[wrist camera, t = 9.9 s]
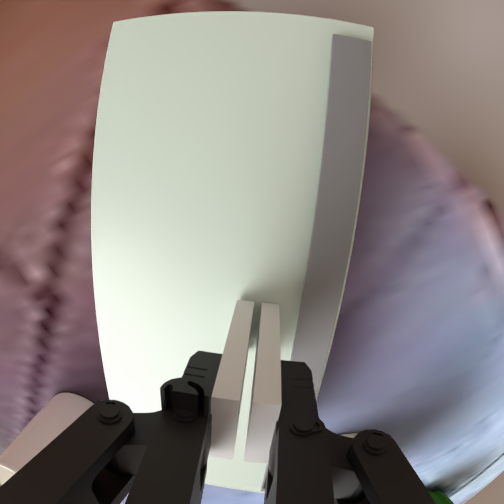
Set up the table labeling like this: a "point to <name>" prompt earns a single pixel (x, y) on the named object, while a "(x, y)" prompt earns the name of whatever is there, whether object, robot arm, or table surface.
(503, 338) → the table surface
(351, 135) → the pale green rectangular panel
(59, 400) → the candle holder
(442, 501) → the bell pepper
